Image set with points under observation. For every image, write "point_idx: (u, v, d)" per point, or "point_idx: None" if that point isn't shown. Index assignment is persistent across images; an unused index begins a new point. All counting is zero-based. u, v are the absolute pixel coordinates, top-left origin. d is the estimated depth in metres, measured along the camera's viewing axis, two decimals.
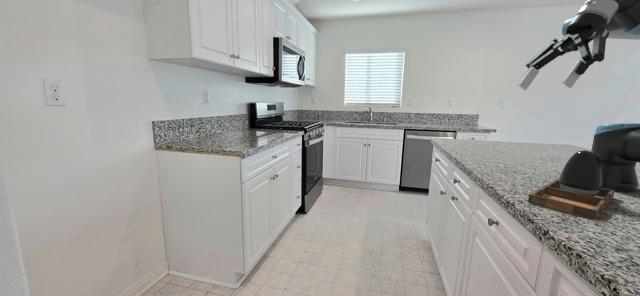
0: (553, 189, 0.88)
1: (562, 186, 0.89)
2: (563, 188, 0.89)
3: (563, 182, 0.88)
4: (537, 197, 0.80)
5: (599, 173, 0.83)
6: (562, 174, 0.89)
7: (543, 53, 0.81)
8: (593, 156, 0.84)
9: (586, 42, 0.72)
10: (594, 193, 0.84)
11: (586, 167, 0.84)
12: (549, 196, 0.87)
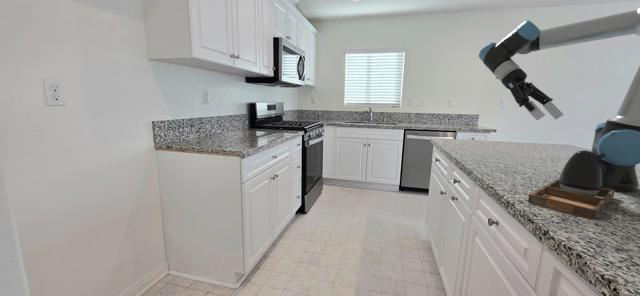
0: (553, 189, 0.88)
1: (562, 186, 0.89)
2: (563, 188, 0.89)
3: (563, 182, 0.88)
4: (537, 197, 0.80)
5: (599, 173, 0.83)
6: (562, 174, 0.89)
7: None
8: (593, 156, 0.84)
9: (520, 87, 0.98)
10: (594, 193, 0.84)
11: (586, 167, 0.84)
12: (549, 196, 0.87)
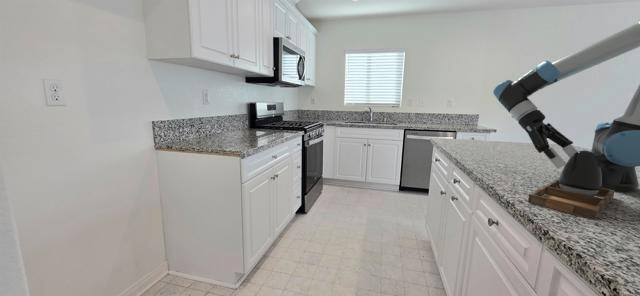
0: (553, 189, 0.88)
1: (562, 186, 0.89)
2: (563, 188, 0.89)
3: (563, 182, 0.88)
4: (537, 197, 0.80)
5: (599, 173, 0.83)
6: (562, 174, 0.89)
7: None
8: (593, 156, 0.84)
9: (538, 130, 0.94)
10: (594, 193, 0.84)
11: (586, 167, 0.84)
12: (549, 196, 0.87)
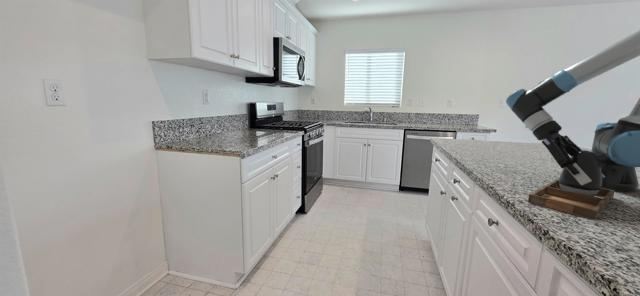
0: (553, 189, 0.88)
1: (562, 186, 0.89)
2: (563, 188, 0.89)
3: (563, 182, 0.88)
4: (537, 197, 0.80)
5: (600, 173, 0.83)
6: (562, 174, 0.89)
7: None
8: (593, 156, 0.84)
9: (556, 143, 0.90)
10: (594, 193, 0.84)
11: (586, 167, 0.84)
12: (549, 196, 0.87)
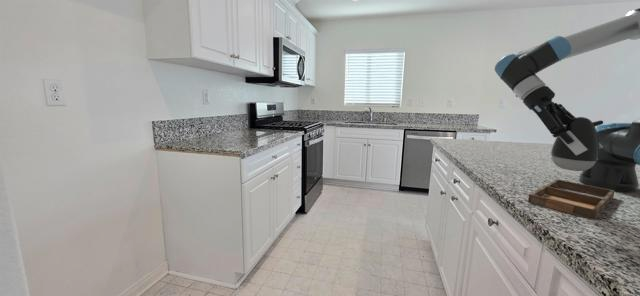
0: (553, 189, 0.88)
1: (554, 158, 0.79)
2: (556, 160, 0.79)
3: (555, 153, 0.78)
4: (537, 197, 0.80)
5: (596, 141, 0.73)
6: (555, 145, 0.79)
7: None
8: (589, 122, 0.74)
9: (548, 110, 0.80)
10: (590, 164, 0.74)
11: (581, 134, 0.74)
12: (549, 196, 0.87)
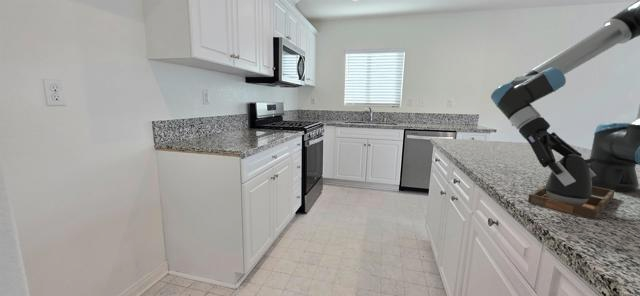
0: None
1: (549, 193, 0.81)
2: (550, 196, 0.81)
3: (550, 189, 0.80)
4: (537, 197, 0.80)
5: (589, 179, 0.75)
6: (549, 180, 0.81)
7: None
8: (582, 161, 0.76)
9: (542, 141, 0.82)
10: (583, 202, 0.76)
11: (574, 173, 0.76)
12: None
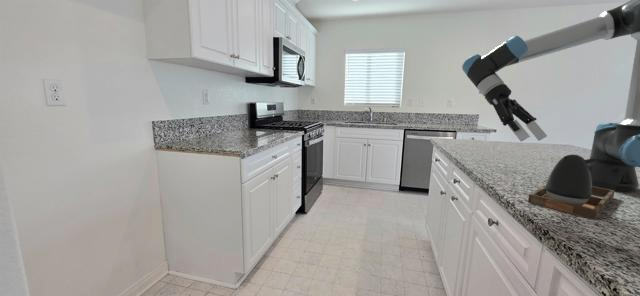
0: None
1: (549, 193, 0.81)
2: (550, 196, 0.81)
3: (550, 189, 0.80)
4: (537, 197, 0.80)
5: (589, 179, 0.75)
6: (549, 180, 0.81)
7: None
8: (582, 161, 0.76)
9: (504, 104, 0.91)
10: (583, 202, 0.76)
11: (574, 173, 0.76)
12: None
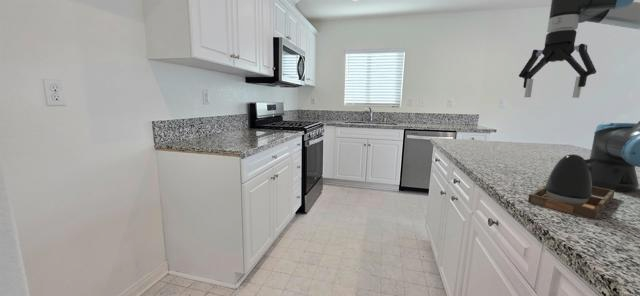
0: None
1: (549, 193, 0.81)
2: (550, 196, 0.81)
3: (550, 189, 0.80)
4: (537, 197, 0.80)
5: (589, 179, 0.75)
6: (549, 180, 0.81)
7: (530, 64, 0.96)
8: (582, 161, 0.76)
9: (569, 54, 0.87)
10: (583, 202, 0.76)
11: (574, 173, 0.76)
12: None
